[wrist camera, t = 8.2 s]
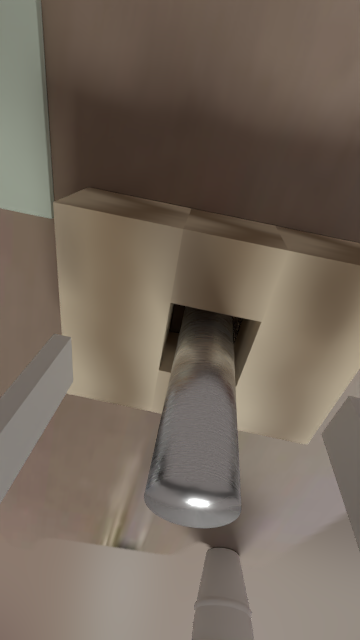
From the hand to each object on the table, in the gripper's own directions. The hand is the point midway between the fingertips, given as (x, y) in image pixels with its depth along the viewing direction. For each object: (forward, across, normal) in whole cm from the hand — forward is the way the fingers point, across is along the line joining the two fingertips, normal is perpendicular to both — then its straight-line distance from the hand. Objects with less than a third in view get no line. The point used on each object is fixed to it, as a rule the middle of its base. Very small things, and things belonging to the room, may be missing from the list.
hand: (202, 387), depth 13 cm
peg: (+7, 0, 0) cm, 7 cm away
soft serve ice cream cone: (+7, -10, +36) cm, 38 cm away
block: (+7, 0, 0) cm, 7 cm away
